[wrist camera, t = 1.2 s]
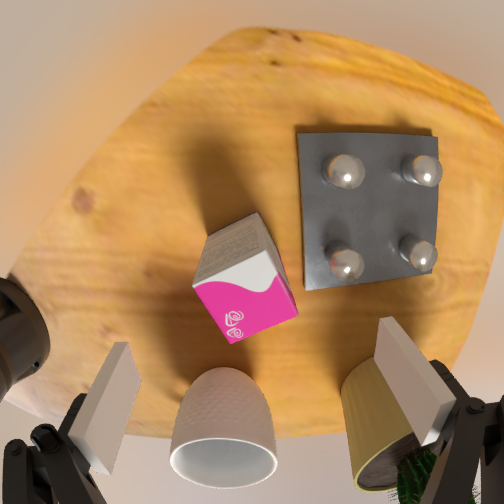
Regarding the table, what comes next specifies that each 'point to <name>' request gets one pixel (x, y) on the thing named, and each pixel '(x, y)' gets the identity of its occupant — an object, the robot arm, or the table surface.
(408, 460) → the potted cactus
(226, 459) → the mug
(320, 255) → the chassis
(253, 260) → the supplement box
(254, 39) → the table surface
